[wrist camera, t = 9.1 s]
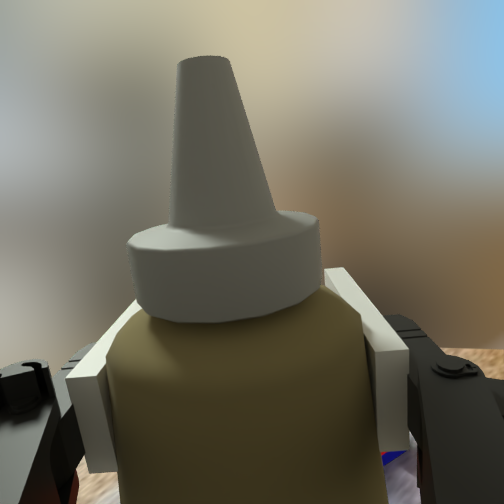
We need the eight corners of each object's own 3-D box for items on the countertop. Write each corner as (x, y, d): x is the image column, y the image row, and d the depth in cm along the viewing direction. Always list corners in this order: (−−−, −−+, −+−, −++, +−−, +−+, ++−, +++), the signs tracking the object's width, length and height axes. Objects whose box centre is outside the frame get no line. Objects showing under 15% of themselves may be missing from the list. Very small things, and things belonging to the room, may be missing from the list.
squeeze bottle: (449, 638, 12) (469, 29, 8) (279, 1033, 7) (55, -152, 3) (273, 491, 18) (230, 103, 14) (112, 642, 13) (-37, 94, 8)
